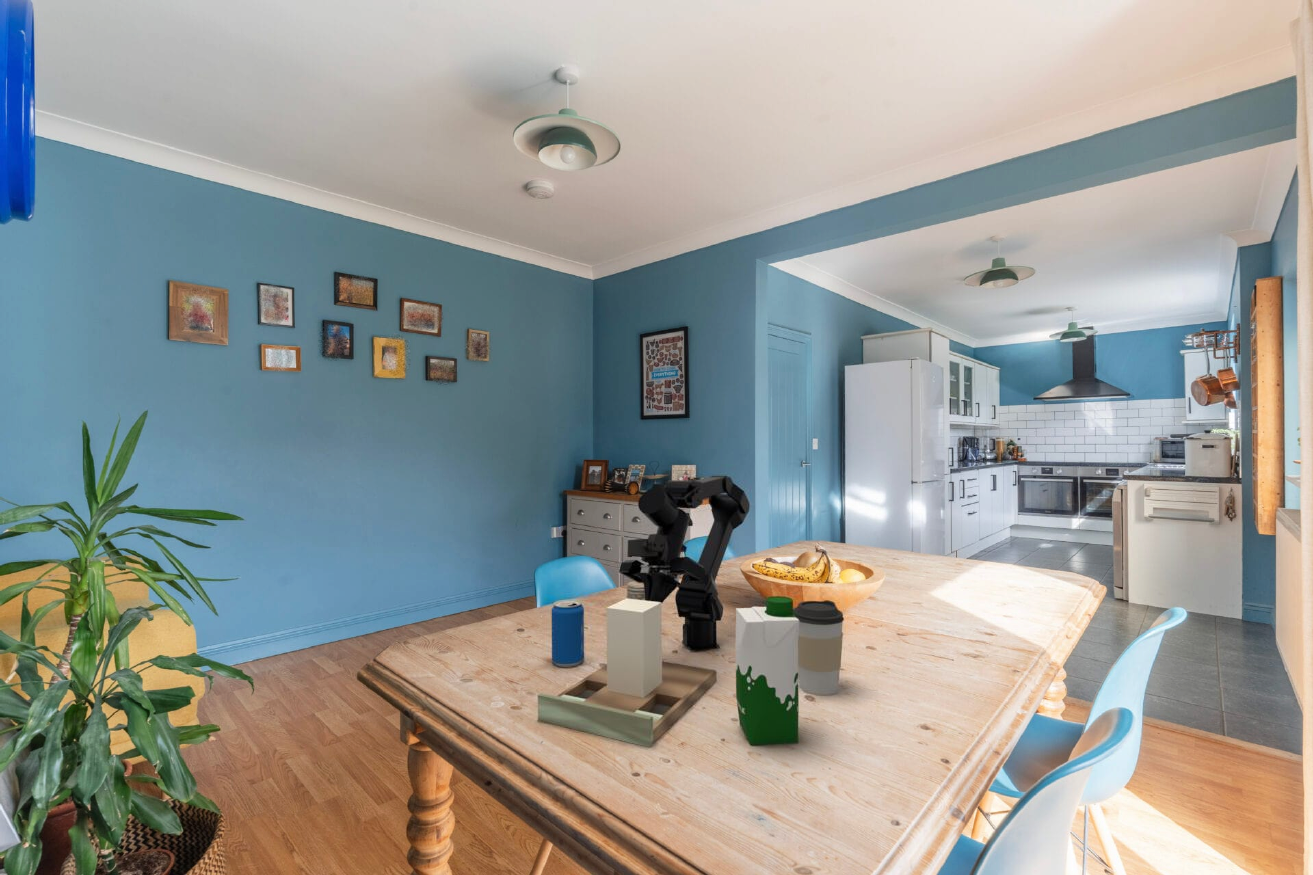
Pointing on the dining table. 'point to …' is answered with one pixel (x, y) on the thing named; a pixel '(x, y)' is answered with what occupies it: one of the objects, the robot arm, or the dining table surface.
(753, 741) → the milk carton
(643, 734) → the tray
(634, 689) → the cream block
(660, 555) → the robot arm
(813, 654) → the coffee cup
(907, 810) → the dining table surface
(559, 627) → the beverage can
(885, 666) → the dining table surface
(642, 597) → the carving
